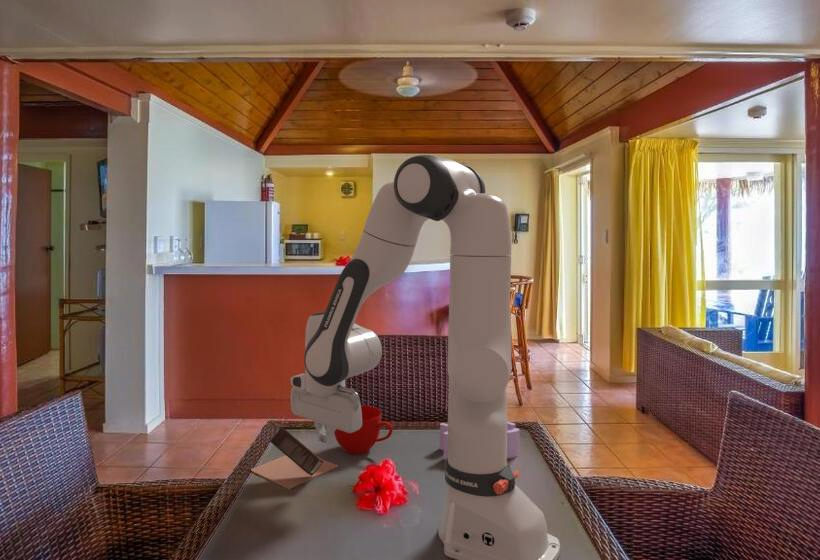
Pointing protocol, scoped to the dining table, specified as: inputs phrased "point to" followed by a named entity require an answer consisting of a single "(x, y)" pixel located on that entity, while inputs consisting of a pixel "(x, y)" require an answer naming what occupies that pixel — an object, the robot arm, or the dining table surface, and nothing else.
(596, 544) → the dining table surface
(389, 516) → the dining table surface
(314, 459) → the box
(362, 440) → the ceramic cup
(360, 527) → the dining table surface
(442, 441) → the clip
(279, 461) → the mat
